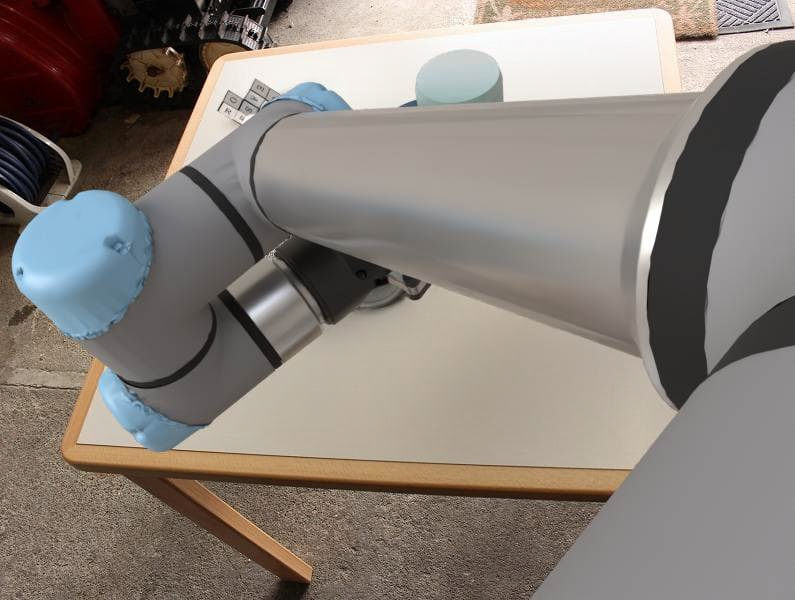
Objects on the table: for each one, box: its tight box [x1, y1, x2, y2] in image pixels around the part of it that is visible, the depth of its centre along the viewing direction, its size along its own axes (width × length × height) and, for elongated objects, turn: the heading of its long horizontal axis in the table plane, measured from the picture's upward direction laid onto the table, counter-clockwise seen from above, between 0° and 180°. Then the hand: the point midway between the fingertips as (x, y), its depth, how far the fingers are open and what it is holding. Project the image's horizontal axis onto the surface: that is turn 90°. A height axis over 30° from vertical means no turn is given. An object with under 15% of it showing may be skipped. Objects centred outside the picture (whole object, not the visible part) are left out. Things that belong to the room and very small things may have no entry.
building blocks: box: [216, 77, 283, 126], centre depth 98 cm, size 5×5×8 cm
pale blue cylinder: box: [414, 48, 505, 106], centre depth 53 cm, size 6×6×20 cm
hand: (510, 133), depth 53 cm, fingers closed on pale blue cylinder, 6 cm apart
